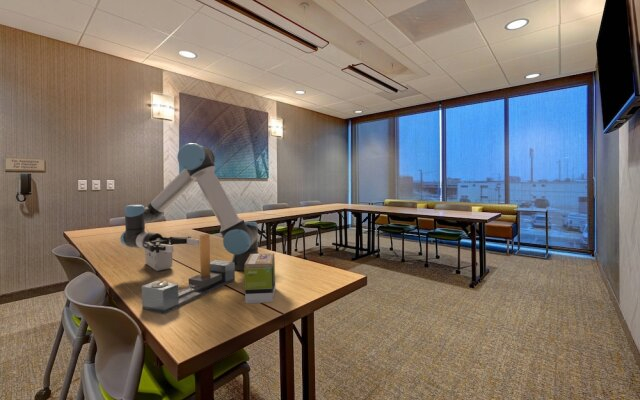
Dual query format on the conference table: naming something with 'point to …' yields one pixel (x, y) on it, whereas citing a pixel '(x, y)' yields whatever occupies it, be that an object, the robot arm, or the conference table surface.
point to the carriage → (205, 265)
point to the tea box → (259, 278)
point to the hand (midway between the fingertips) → (186, 245)
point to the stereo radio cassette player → (158, 259)
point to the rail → (183, 290)
